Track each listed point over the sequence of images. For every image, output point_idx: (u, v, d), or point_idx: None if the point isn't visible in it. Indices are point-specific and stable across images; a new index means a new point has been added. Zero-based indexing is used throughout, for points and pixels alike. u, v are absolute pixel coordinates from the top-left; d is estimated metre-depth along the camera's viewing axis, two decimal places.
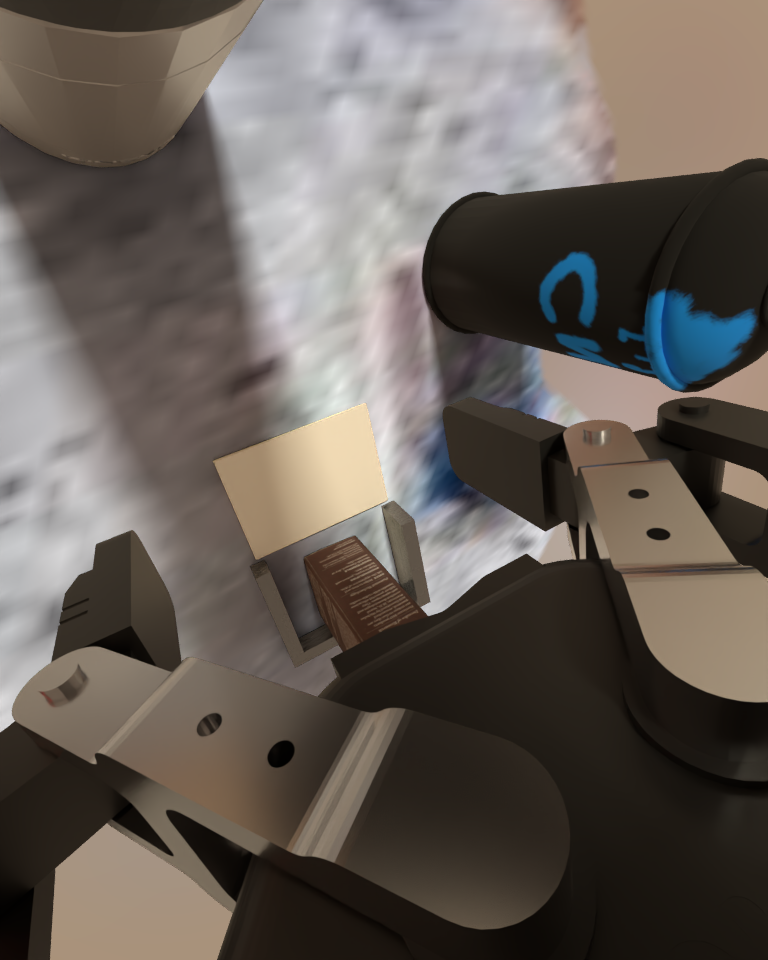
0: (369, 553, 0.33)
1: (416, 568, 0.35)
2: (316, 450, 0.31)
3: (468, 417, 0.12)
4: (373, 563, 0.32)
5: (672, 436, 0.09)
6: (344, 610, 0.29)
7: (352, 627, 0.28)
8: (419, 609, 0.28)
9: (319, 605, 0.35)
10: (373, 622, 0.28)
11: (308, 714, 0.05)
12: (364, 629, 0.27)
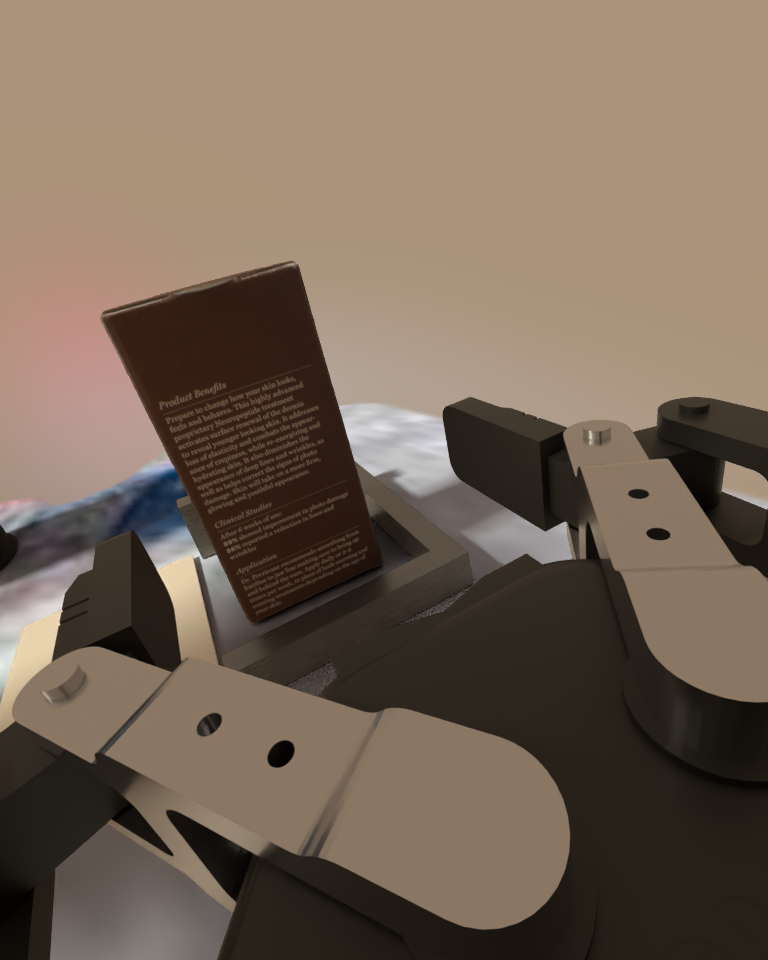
0: None
1: None
2: None
3: (468, 417, 0.12)
4: None
5: (672, 436, 0.09)
6: (179, 477, 0.16)
7: (161, 438, 0.15)
8: None
9: (333, 564, 0.19)
10: None
11: (307, 714, 0.05)
12: None
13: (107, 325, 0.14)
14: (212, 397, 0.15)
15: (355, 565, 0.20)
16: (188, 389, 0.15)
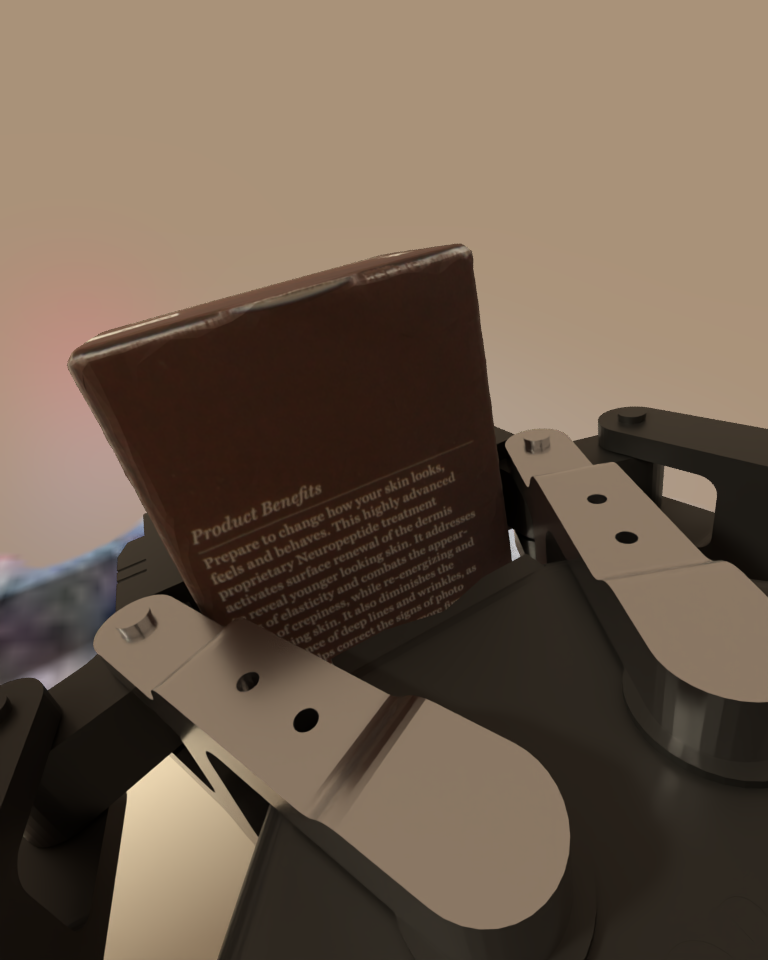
0: None
1: None
2: None
3: None
4: None
5: (616, 446, 0.09)
6: None
7: (193, 596, 0.08)
8: None
9: None
10: None
11: (336, 686, 0.05)
12: None
13: (83, 381, 0.06)
14: (294, 513, 0.08)
15: None
16: (251, 501, 0.07)
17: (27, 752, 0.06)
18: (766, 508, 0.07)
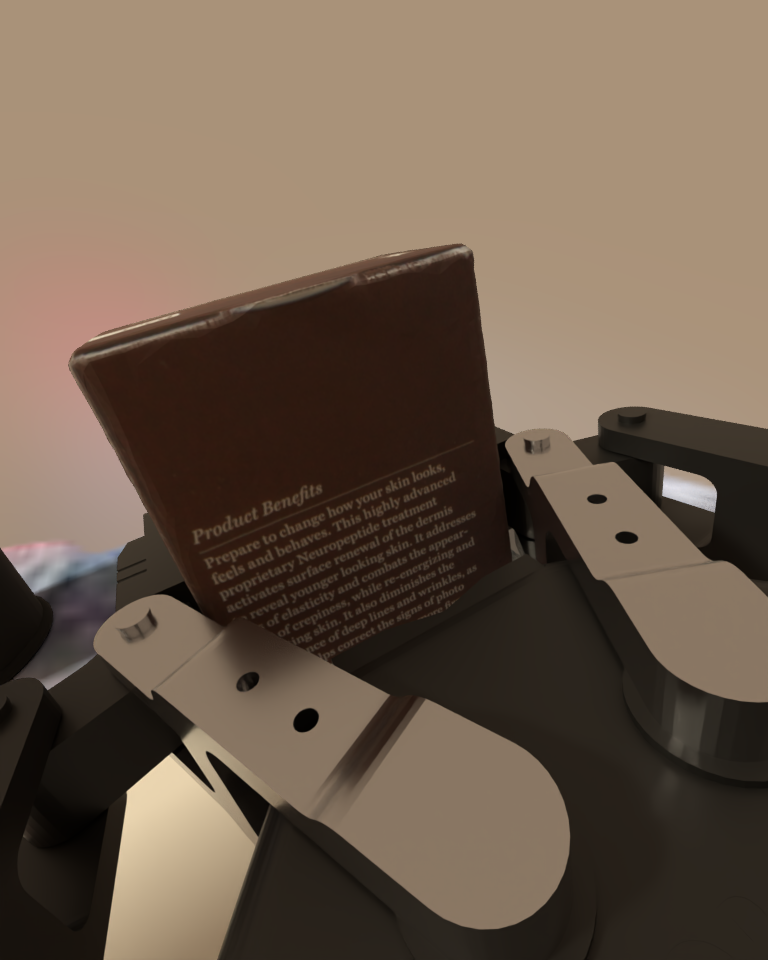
0: None
1: None
2: (137, 863, 0.13)
3: None
4: None
5: (616, 446, 0.09)
6: None
7: (195, 595, 0.08)
8: None
9: None
10: None
11: (335, 687, 0.05)
12: None
13: (84, 381, 0.06)
14: (294, 513, 0.08)
15: None
16: (251, 501, 0.07)
17: (26, 752, 0.06)
18: (766, 508, 0.07)
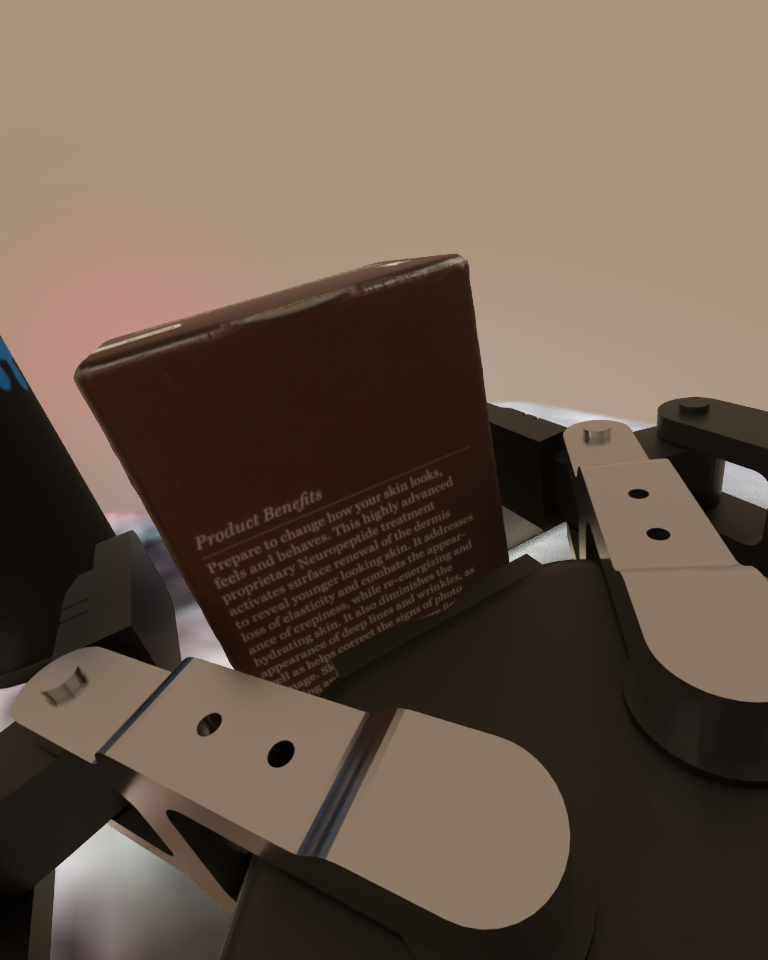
0: None
1: None
2: None
3: None
4: None
5: (672, 436, 0.09)
6: (227, 656, 0.09)
7: (198, 600, 0.08)
8: None
9: None
10: None
11: (307, 714, 0.05)
12: None
13: (89, 393, 0.06)
14: (296, 518, 0.08)
15: None
16: (253, 508, 0.08)
17: None
18: None
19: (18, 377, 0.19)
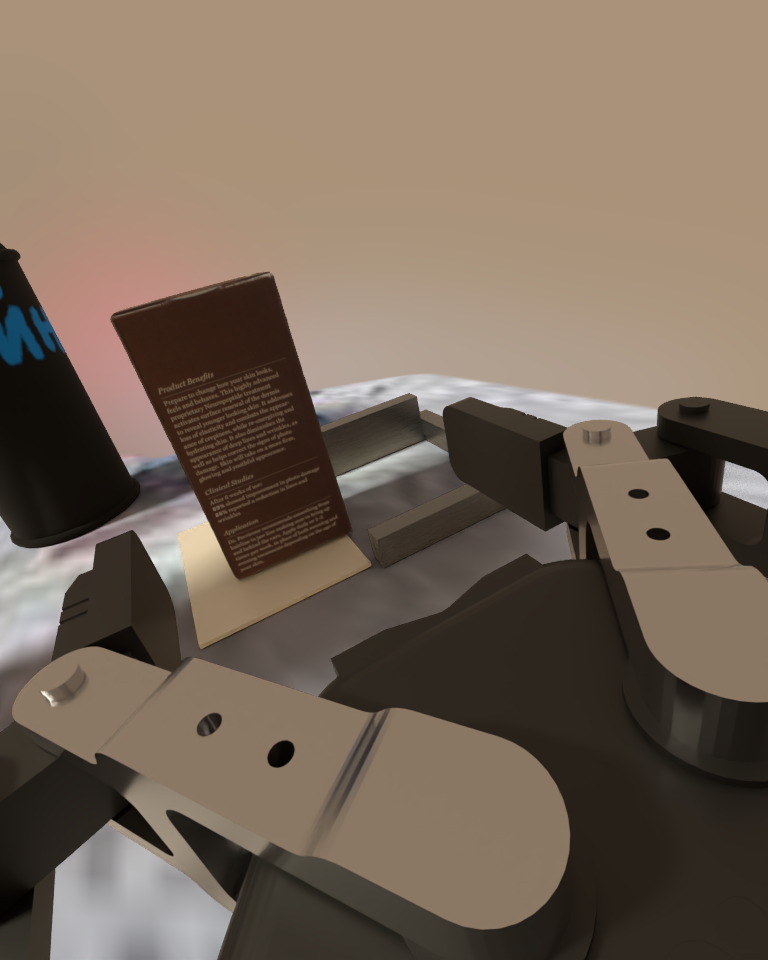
0: None
1: (359, 415, 0.30)
2: (219, 554, 0.25)
3: (468, 417, 0.12)
4: None
5: (672, 436, 0.09)
6: None
7: (160, 418, 0.18)
8: None
9: (308, 529, 0.22)
10: None
11: (307, 713, 0.05)
12: None
13: (116, 325, 0.17)
14: (202, 385, 0.19)
15: (327, 531, 0.23)
16: (182, 378, 0.18)
17: None
18: None
19: (59, 344, 0.29)
